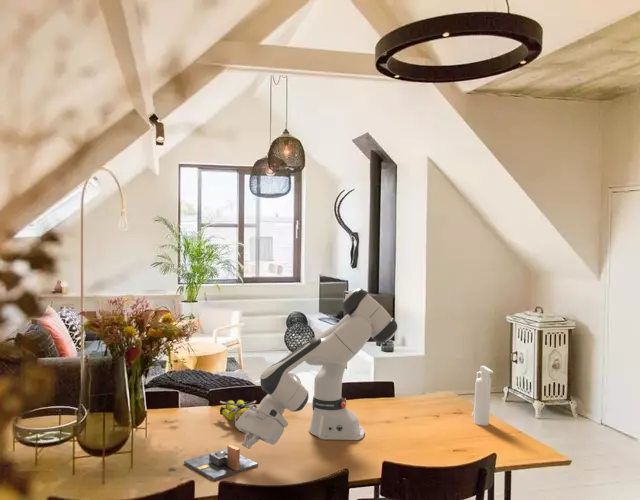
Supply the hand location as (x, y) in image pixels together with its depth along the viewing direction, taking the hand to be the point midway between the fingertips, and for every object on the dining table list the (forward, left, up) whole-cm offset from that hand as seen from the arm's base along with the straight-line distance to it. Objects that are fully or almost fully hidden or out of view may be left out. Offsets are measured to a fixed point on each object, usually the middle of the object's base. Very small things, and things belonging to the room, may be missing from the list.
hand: (245, 446), depth 203 cm
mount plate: (+8, +2, -6) cm, 10 cm away
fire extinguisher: (-85, -69, -7) cm, 110 cm away
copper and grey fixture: (+5, +4, -5) cm, 8 cm away
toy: (+14, -41, -7) cm, 44 cm away
